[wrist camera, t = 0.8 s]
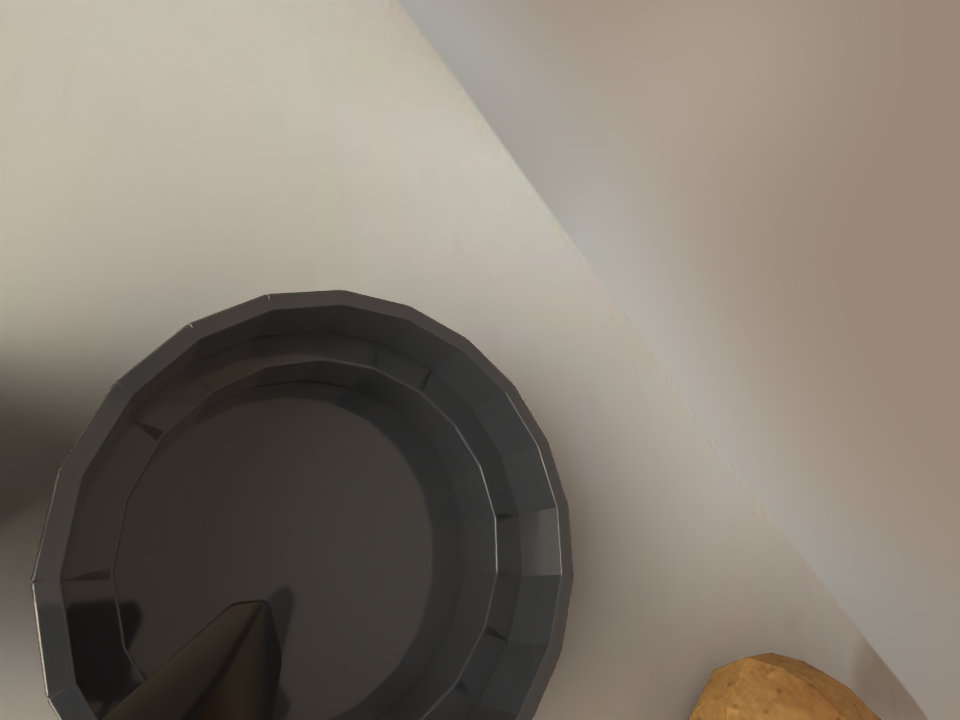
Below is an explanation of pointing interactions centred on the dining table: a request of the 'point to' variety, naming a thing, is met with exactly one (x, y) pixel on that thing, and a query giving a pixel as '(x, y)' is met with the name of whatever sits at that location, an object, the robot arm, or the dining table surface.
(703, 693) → the potato
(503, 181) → the dining table surface
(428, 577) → the bowl
